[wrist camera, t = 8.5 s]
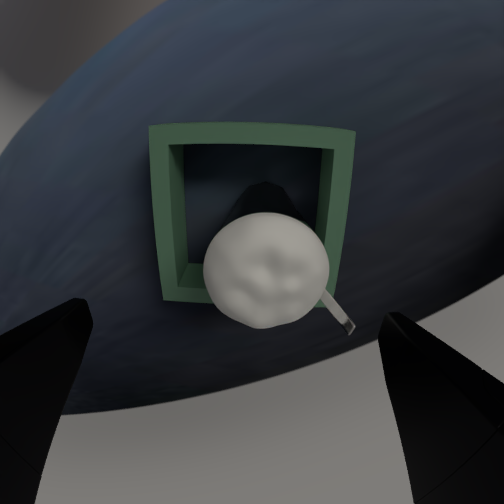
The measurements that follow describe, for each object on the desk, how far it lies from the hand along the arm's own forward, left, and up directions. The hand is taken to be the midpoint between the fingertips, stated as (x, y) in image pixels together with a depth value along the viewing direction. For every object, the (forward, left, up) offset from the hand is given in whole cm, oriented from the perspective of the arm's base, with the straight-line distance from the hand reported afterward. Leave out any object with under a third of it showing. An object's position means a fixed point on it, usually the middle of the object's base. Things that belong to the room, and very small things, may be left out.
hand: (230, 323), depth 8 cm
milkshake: (-1, 0, -11) cm, 11 cm away
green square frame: (0, 0, -11) cm, 11 cm away
